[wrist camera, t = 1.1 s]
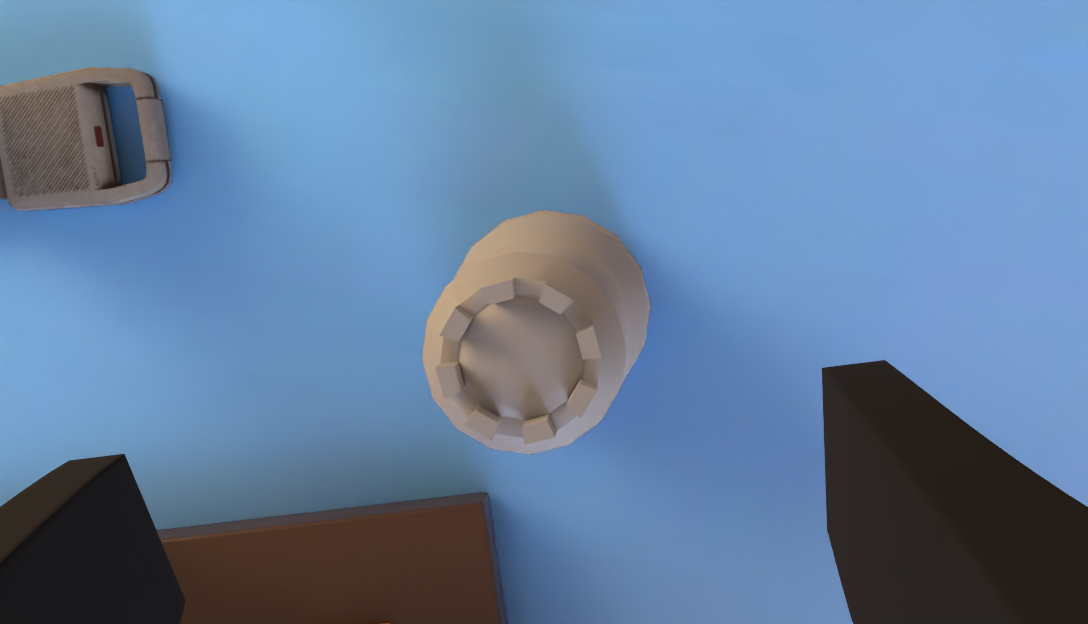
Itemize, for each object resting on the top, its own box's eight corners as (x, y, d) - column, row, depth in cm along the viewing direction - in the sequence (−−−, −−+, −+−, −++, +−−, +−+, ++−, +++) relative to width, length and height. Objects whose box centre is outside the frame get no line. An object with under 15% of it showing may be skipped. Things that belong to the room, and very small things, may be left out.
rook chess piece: (413, 317, 24) (312, 374, 16) (541, 168, 23) (502, 151, 15) (560, 445, 24) (532, 566, 16) (691, 300, 23) (729, 350, 15)
